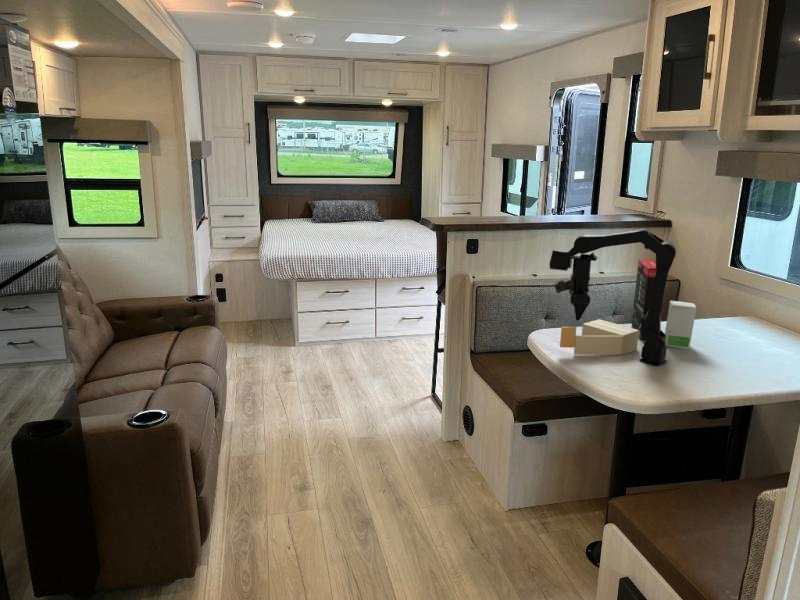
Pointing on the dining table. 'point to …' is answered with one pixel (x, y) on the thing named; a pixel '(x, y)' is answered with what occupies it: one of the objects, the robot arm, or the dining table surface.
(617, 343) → the carton flap
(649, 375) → the dining table surface
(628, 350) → the carton
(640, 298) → the graphics card box
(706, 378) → the dining table surface
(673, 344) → the skincare box
